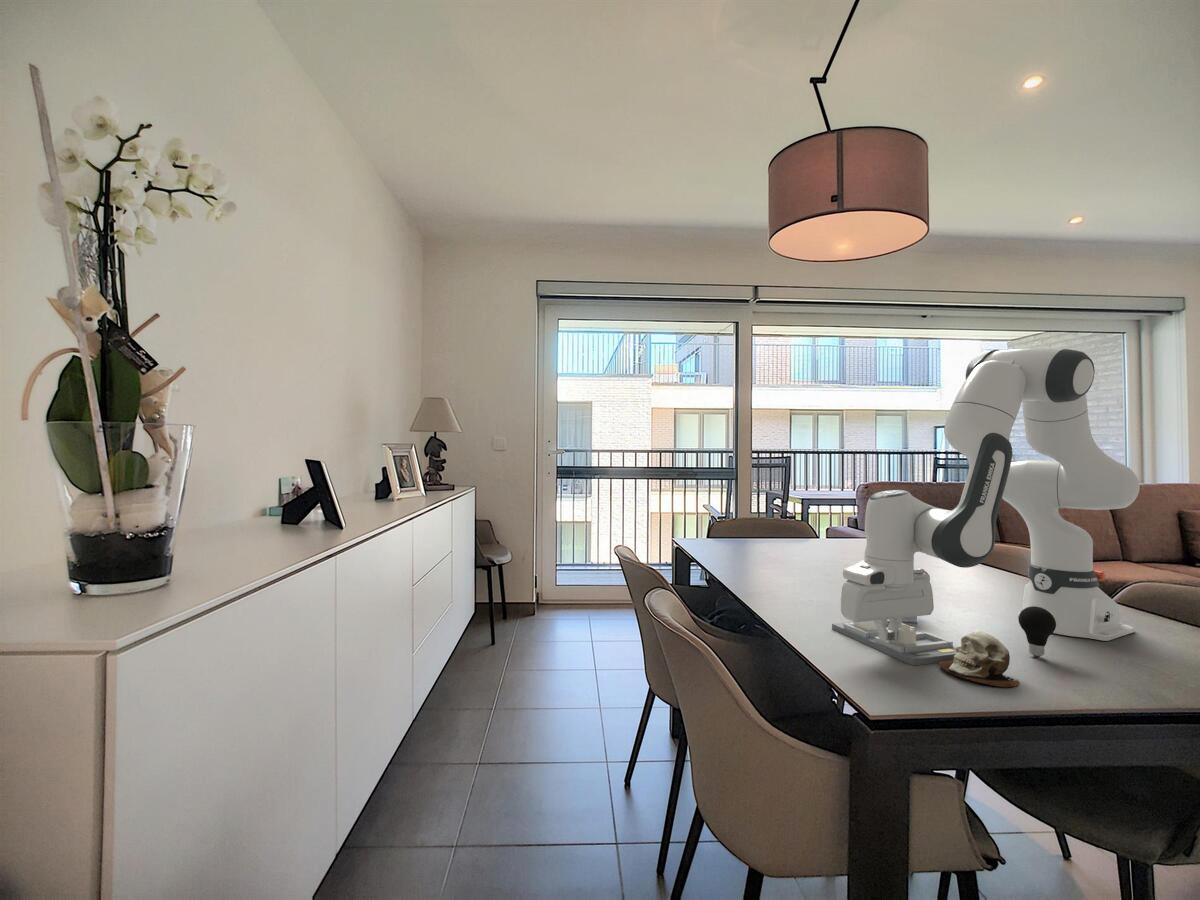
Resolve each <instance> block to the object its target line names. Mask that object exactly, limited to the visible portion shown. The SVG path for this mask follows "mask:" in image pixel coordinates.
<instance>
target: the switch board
mask: <svg viewBox="0 0 1200 900" xmlns="http://www.w3.org/2000/svg"><path fill="white" fill-rule="evenodd" d="M889 624H890V620H889V619H888V620H887V624H885V626H886V628H887V629H888V625H889ZM904 624H905V625H908V624H906V623H904ZM908 626H910V625H908ZM910 628H911V629H914V630H916V627H915V626H910ZM831 629H832V630H833V631H834V632H835V631H836V632H837V633H840V634H842V635H844V636H847V637H849V638H850V639H853V640H855V641H857V642H860V643H862V644H865V645H866V646H869V647H871V648H872V649H875V650H877V651H880V652H881V653H884V654H886V655H888V656H890V657H893V658H895V659H897V660H899V661H902V662H903V661H904V663H906V664H909V665H910V666H912V667H913V666H922V665H929V664H937V663H940V662H941V661H944V660H954V655H955V654H957V651H956V648H957V647H956V646H954V645H953V644H954V642H953V641H951V640H948V639H946V638H943V637H940V636H938V635H935V634H932V633H930V632H927V631H918V632H917V631H916V644H912V645H903V646H899V645H897V644H894V643H892V642H890V641H883V640H880V639H879V630H873V631H867V632H866V631H864V630H861V629H859V628H857V627H854V626H853V621H848V622H845V621H844V622H837V623H836V622H835V623H831Z"/></svg>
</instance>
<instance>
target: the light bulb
mask: <svg viewBox="0 0 1200 900" xmlns="http://www.w3.org/2000/svg"><path fill="white" fill-rule="evenodd" d="M1019 612H1020V614H1019V617H1018V618H1017V619H1018V624H1019V626H1020V627H1021V629H1022V631H1023V632H1024V634H1025V637H1026V640H1027V643H1028V653H1030V654H1031V655H1032V656H1033V657H1035V658H1041V657H1043V656H1044V655H1045V648H1046V645H1047V642H1048V639H1049V637H1050V636H1051V635H1052V634H1054V633H1053V632H1054V630H1055V628H1056V621H1055V618H1054V617H1053V615H1052V614H1051V613H1050V612H1049V611H1047V610H1046V609H1044V608H1041V607H1036V606H1031V607H1027V608H1025V609H1023V610H1022V609H1021V611H1019Z"/></svg>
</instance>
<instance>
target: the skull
mask: <svg viewBox="0 0 1200 900" xmlns="http://www.w3.org/2000/svg"><path fill="white" fill-rule="evenodd" d="M956 651H957V654H955V655H954V660H944V661H941V662H938V663H939V666H940V667H941V668H942V669H943V670H944V671H946V672H948V673H950V674H951V675H953V676H955V677H957V678H958V677H959V678H963V679H965V680H968V681H971V682H976V683H981V684H982V685H983V684H985V685H988V687H991V686H994V687H998V688H1000V687H1003V688H1006V687H1007V688H1008V687H1009V688H1011V687H1013V688H1015V687H1017V686H1018V685H1020V681H1019V679H1016V680H1014V678H1011V677H1010V676H1004V673H1006V672H1007V670H1008V669H1009V666H1010V662H1011V661H1010V660H1011V657H1010V651H1009V649H1008V648H1007V647H1006V646H1005V644H1003V642H1001V641H1000V640H999V639H998V638H997V637H996V636H994V635H991V634H989V633H987V632H984V631H974V632H971V633H968V634H966V635H964V636H963V637H961V639H960V646H957V647H956Z"/></svg>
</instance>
